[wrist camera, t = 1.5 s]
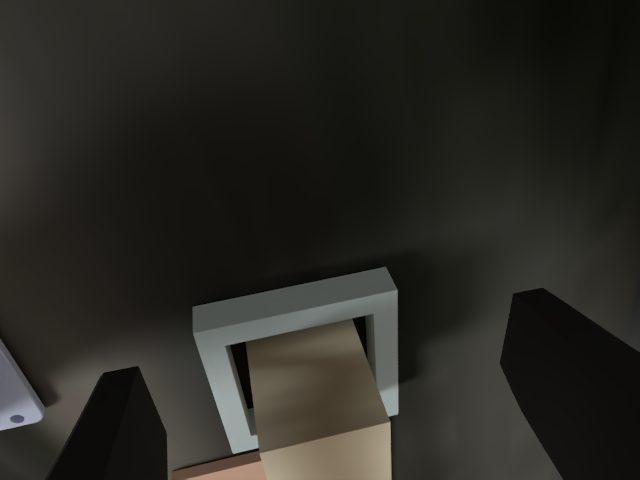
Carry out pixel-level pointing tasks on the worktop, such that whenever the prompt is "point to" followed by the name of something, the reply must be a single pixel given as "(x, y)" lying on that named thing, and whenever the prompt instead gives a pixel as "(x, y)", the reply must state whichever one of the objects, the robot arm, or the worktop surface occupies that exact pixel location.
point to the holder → (290, 315)
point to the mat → (226, 469)
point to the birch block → (318, 406)
